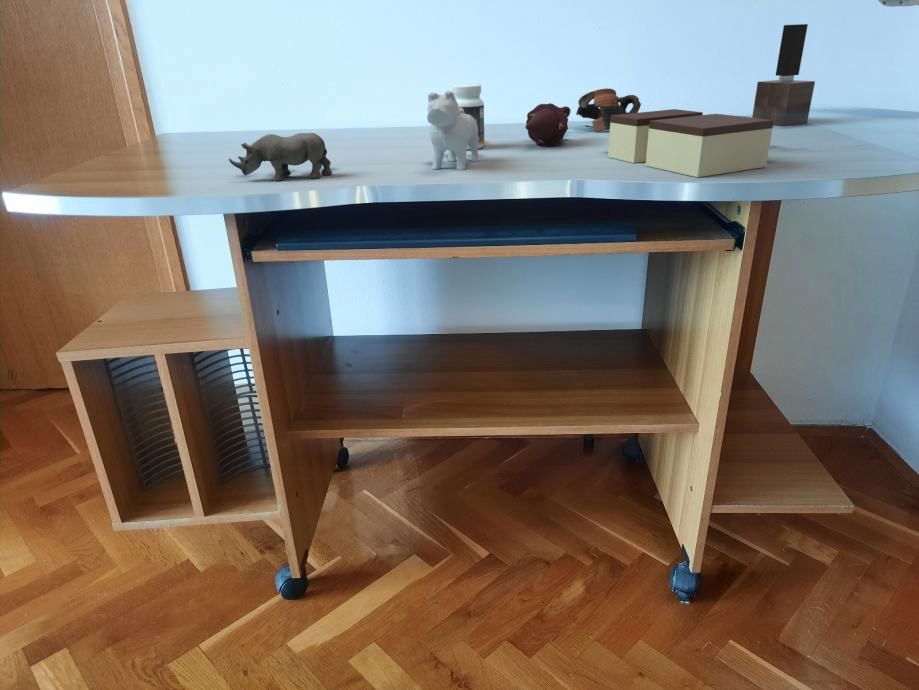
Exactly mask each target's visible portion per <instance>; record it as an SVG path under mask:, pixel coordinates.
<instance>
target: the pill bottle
mask: <svg viewBox="0 0 919 690" xmlns="http://www.w3.org/2000/svg"><path fill="white" fill-rule="evenodd" d="M452 92H453V94H454V96H455V99H456V101H457V103H458V109H460V108H462V109H464V113H465V114H468V115H471V116H472V117H473V118H474V120H475V122H476V123H477V127H478V150H479V149H482V148H483V147H485V103H484V100H483V99H482V98H481V97H480V95H481V93H482V85H481V84H468V83H467V84H454V85H453V86H452ZM469 150H470V147H469V146H467V148H466V151H469ZM470 151H471V150H470Z"/></svg>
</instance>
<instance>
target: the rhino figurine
mask: <svg viewBox="0 0 919 690" xmlns="http://www.w3.org/2000/svg"><path fill="white" fill-rule="evenodd" d="M240 145H241V147H242V148H243V149H244V150H245V151H246V155H245V156H240V155H238V156H237V159H238V160H239V161H240V162H239V161H235V160H232V159H231V158H230V157H229V158H228V161H229V163H230V164H231V165H232V166H234V167H235V168H237V169H239V170H240V171H241V172H242V174H243V175H244V176H245V177H246V176H249V175H250V174H252V173H253V172H255V171H257V170H258V169H259V168H260V167H261V166H262V163H263V162H270V164H271V166H272V168H273V169H274V172H275V175H274V176H273V177H272V180H273V181H274V182H279V181H283V180H285V178H287V177H289V176H291V174H292V172H291V170H290V169H289V166H299V165H300V166H301V165H302V164H304V163H306V162H307V161H309V163H311V172H310V173H309V174H308V178H309V179H318V178H321V177H322V176H328V175H332V174H333V170H332V169H331V167H330V166H331V164H332V163H331V160H330V159H329V158H327V154H328V149H327V148H326V144H325V141H324V139H323V138H322V137H321V136H320V135H318V134H317V133H315V132H299V133H296V134H293V135H291V136H281V135H278V134H271V133H270V134H269V133H268V134H266V135H263V136H261V137H260V138H258V139H257V140H255V141H254V142H252V143H251V144H248V143H246V142H244V143H241V144H240ZM322 168H323V169H322ZM320 171H321V172H320Z"/></svg>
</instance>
